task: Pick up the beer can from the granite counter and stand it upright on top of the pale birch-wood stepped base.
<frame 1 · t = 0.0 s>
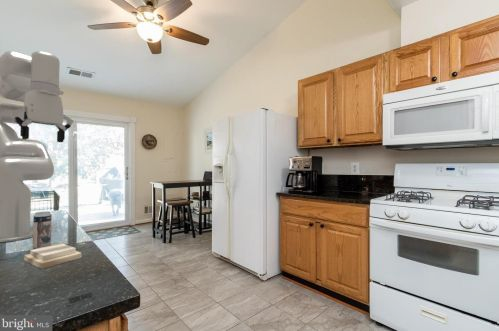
hand: (43, 140, 84), 37 cm above the kitchen island, tool pointing down, fingers open, 9 cm apart
stacking base: (53, 259, 75), on the kitchen island
beer can: (41, 247, 85), on the kitchen island
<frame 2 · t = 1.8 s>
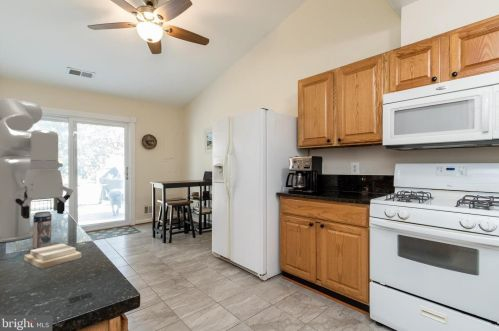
hand: (43, 215, 85), 11 cm above the kitchen island, tool pointing down, fingers open, 9 cm apart
nothing on the kitchen island moved.
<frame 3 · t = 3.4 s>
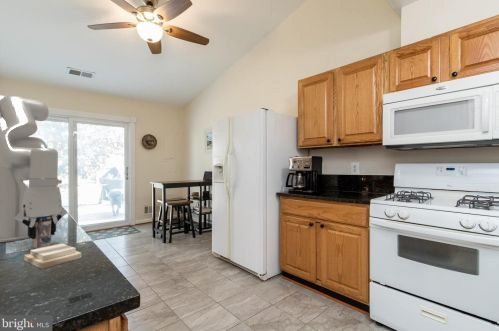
hand: (42, 235, 85), 4 cm above the kitchen island, tool pointing down, fingers closed on beer can, 4 cm apart
beer can: (41, 247, 85), on the kitchen island, touching gripper
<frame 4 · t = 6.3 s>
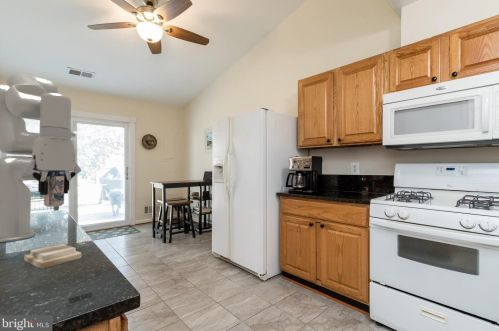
hand: (54, 193, 76), 20 cm above the kitchen island, tool pointing down, fingers closed on beer can, 4 cm apart
beer can: (54, 206, 76), point 16 cm above the kitchen island, touching gripper
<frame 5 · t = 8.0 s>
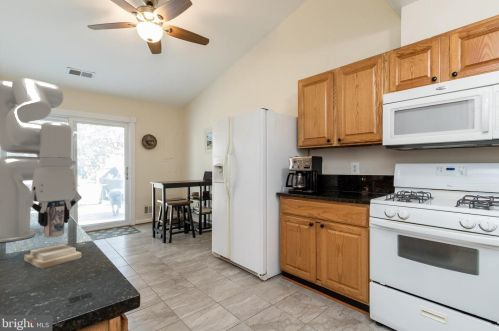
hand: (54, 223, 75), 11 cm above the kitchen island, tool pointing down, fingers closed on beer can, 4 cm apart
beer can: (54, 236, 75), point 7 cm above the kitchen island, touching gripper
when the fingers open (8 cm above the kitchen island, at t = 9.4 s): beer can stays where it is, resting on stacking base.
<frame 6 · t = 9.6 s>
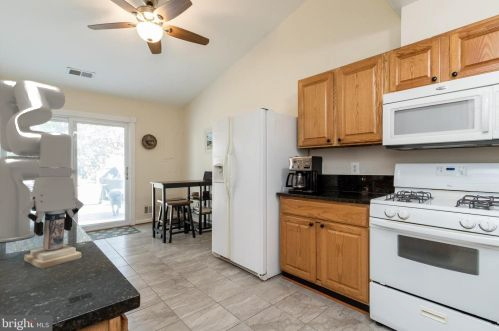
hand: (53, 232, 75), 8 cm above the kitchen island, tool pointing down, fingers open, 6 cm apart
beer can: (53, 249, 75), point 3 cm above the kitchen island, touching stacking base
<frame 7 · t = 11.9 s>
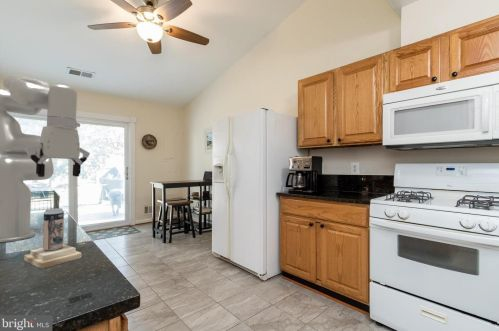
hand: (59, 176, 81), 25 cm above the kitchen island, tool pointing down, fingers open, 9 cm apart
nothing on the kitchen island moved.
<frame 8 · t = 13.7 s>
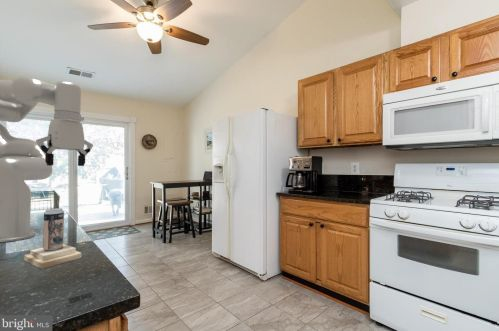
hand: (66, 165, 88), 28 cm above the kitchen island, tool pointing down, fingers open, 9 cm apart
nothing on the kitchen island moved.
at the end: beer can 0.2 cm off-centre on the stacking base, point 2.8 cm above the stacking base's base; beer can tilted 0°; the gripper is holding nothing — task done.
